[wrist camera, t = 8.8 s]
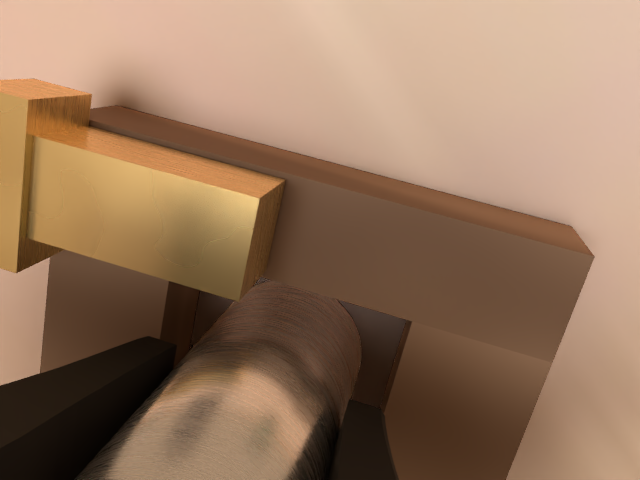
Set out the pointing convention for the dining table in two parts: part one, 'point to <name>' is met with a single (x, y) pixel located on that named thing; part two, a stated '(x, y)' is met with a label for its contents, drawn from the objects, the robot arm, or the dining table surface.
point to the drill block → (368, 294)
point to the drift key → (125, 197)
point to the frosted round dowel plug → (246, 397)
